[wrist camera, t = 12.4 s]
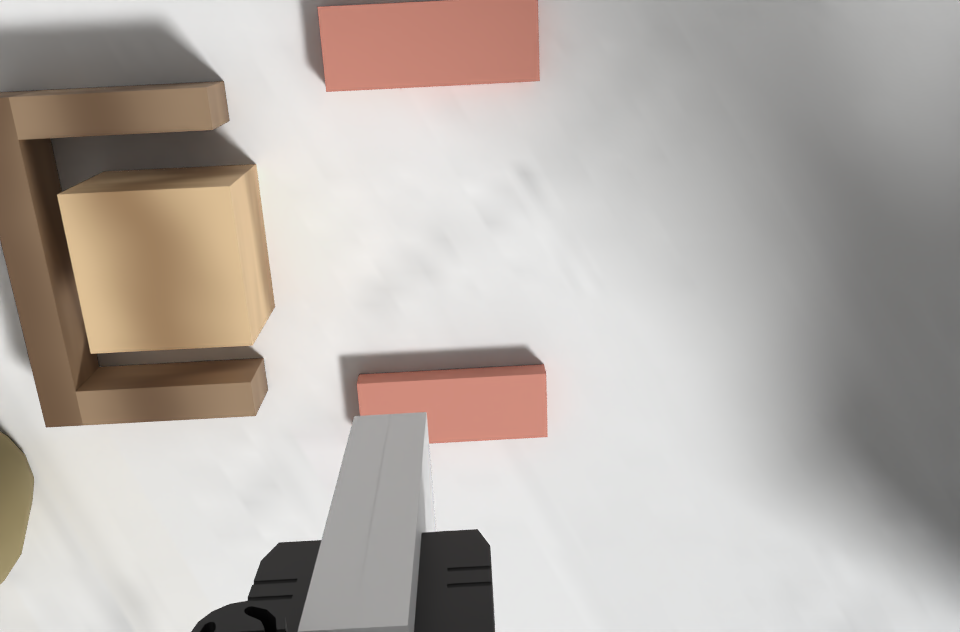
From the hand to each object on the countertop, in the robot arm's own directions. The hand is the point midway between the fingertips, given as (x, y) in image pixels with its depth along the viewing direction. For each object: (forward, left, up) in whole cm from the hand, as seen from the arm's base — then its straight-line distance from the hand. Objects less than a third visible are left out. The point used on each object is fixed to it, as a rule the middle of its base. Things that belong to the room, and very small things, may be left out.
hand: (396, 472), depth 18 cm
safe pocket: (+10, +6, -19) cm, 22 cm away
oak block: (+8, +4, -19) cm, 21 cm away
